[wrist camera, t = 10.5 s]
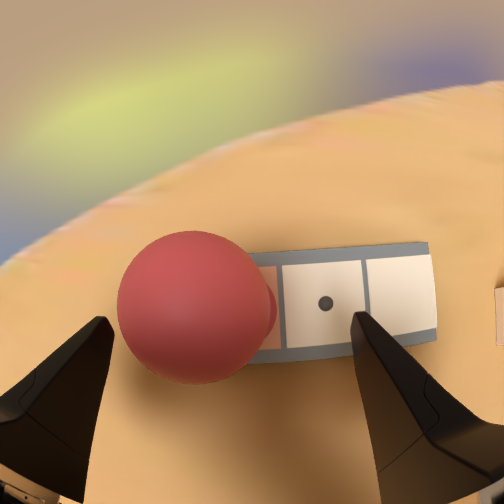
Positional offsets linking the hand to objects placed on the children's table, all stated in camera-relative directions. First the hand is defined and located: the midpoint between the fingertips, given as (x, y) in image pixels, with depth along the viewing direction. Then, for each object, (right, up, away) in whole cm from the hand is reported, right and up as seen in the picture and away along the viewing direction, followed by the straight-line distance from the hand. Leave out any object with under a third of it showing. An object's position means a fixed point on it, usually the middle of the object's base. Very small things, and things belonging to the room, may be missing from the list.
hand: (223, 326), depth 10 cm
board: (+5, -1, +8) cm, 9 cm away
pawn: (0, -1, +7) cm, 7 cm away
